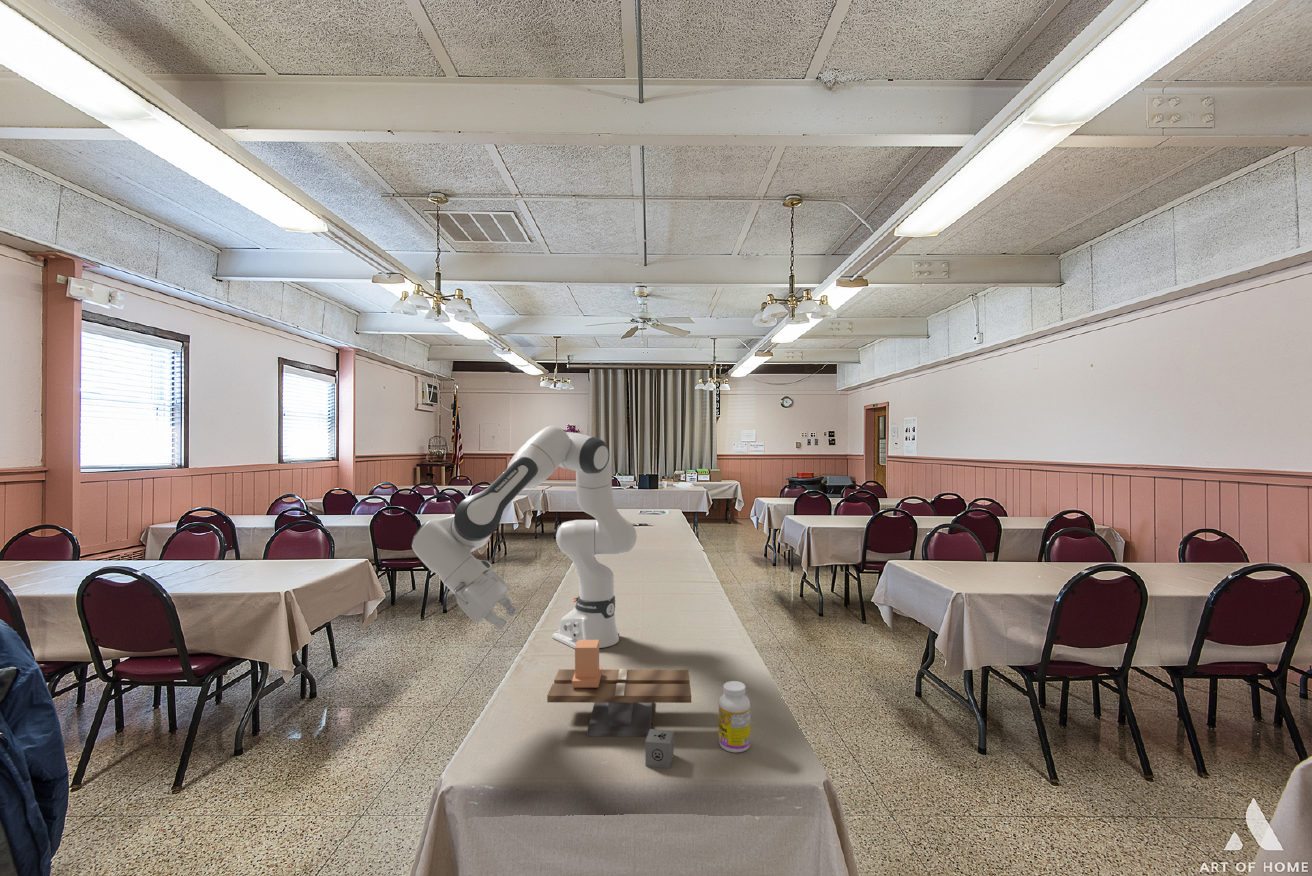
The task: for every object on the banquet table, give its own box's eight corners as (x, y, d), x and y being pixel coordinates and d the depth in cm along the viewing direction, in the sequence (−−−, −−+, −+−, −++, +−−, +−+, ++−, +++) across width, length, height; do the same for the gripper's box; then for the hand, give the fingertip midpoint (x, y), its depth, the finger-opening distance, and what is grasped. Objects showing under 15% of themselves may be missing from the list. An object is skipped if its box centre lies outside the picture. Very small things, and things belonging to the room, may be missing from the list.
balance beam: (546, 736, 124) (546, 696, 124) (559, 701, 140) (559, 667, 140) (691, 736, 124) (691, 697, 124) (688, 702, 140) (688, 667, 140)
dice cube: (670, 768, 112) (670, 743, 112) (645, 766, 113) (645, 741, 113) (673, 754, 117) (673, 730, 117) (649, 752, 118) (649, 728, 118)
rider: (571, 693, 128) (571, 650, 128) (577, 678, 136) (577, 637, 136) (598, 693, 128) (598, 650, 128) (602, 678, 136) (601, 637, 136)
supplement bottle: (716, 737, 124) (716, 679, 124) (746, 736, 124) (745, 678, 124) (722, 755, 117) (722, 693, 117) (753, 753, 118) (753, 691, 117)
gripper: (461, 579, 122) (506, 624, 122) (489, 559, 142) (528, 598, 142) (441, 600, 122) (486, 645, 122) (472, 577, 143) (511, 615, 142)
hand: (509, 619), depth 132 cm, fingers open, 8 cm apart
